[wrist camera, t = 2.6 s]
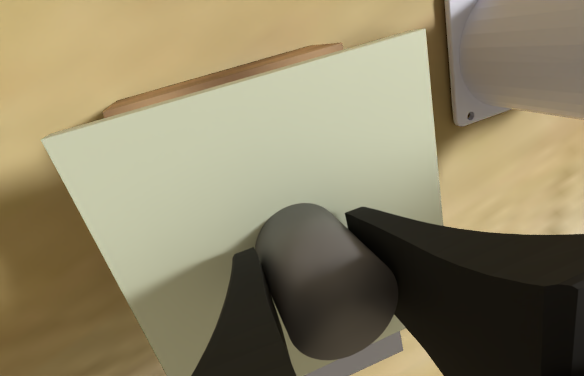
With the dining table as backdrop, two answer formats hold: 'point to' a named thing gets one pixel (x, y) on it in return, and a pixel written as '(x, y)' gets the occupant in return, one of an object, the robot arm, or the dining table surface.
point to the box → (220, 78)
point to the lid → (262, 197)
